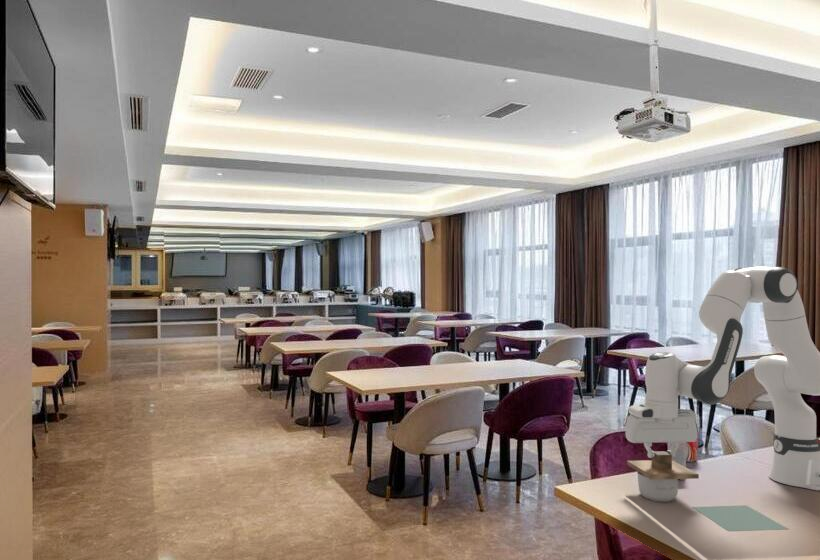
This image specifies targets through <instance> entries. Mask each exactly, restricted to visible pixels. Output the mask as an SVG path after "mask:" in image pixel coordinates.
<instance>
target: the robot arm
mask: <svg viewBox="0 0 820 560" xmlns="http://www.w3.org/2000/svg"><path fill="white" fill-rule="evenodd" d="M798 285H799V284H798V278H797V277H796V275H795V274H794V272H792V270H791V269H789V268H785V267H783V266H774V267H773V266H755V267H754V266H753V267H744V268H743V267H738V268H733V269H731V270H727V271H724V272H722V273H721V274H719V276H717V278H716V279H715V280H714V282H713V283H712V284H711V286H710V288H709V290H708V291H707V293H706V295H705V296H704V299H703V300H702V303H701V304H700V307H699V311H698V317H699V319H700V322H701V323H702V325H703V326H704V327H705V328H707V329H708V330H709V332H711V333H713V334H715V335H716V339H717V341H716V344H715V346H714V350H713V353H712V356H711V360H710V361H709V363H708V364H707V365H704V366H701V365H697V364H691V363H688V362H685V361H684V360H682V359H680V358H679V357H677V356H676V354H674V353H673V352H656V353H652V354H651V355H649V356H648V358H647V360H646V364H645V372H644V373H645V378H644V380H645V381H644V384H645V387H646V393H645V397H644V401H641V402H639V403H636V404H632V405H630V406H628V409H627V410H628V411H627V412H628V413H629V414H630V415H628V417H627V418H626V423H625V438H626V439H627V441H628V442H630V443H633V444H643V446H644V448H645V449H646V451H647V457H648V458H650V459H652V458H655V452H654V450H652V448H651V447H652V446H653V444H654V443H656V444H657V443H661V444H662V443H668V442H671V444H672V447H671V449H670V450H668V449H667V450H666V452H667V453H669V454H671V455H672V458H675V452H676V450H677V449H678V447H679V442H695V441H696V439H697V431H698V429H697V423H696V422H697V415H696V412H695V411H694V410H692V409H691V408H685V409H684V408H679V396H682V397H685V398H687V399H691V400H696V401H699V402H701V403H705V404H707V405H710V406H711V405H717V404H719V403H720V402H722V401H723V400H724V399H725V398H726V397H727V396H728V394H729V392H730V385H731V376H732V372H733V369H734V366H735V363H736V359H737V356H738V353H739V350H740V346H741V342H742V338H743V333H744V329H743V325H742V323H741V319H742V315H743V313H744V311H745V309H746V306H747V304H748V303H755V304H760V303H762V311H763V318H764V324H765V329H766V333H767V338H768V341H769V343H770V344H771V345H772V346H773V347H774V348H776V349H778V350H779V351H780V352H781V353H782V354H783V355H779V354H775V355H763V356H761V357H760V358H758V360H757V361H756V363H755V365H754V368H753V371H754V376H755V377H754V378H755V379H756V380H757V382H759V384H760V385H762V386H763V388H764V389H765V391H766V392H767V394H768V396H769V398H770V401H771V404H772V407H773V411H774V414H773V415H774V433H772V434H773V435H772V438H773V439H772V444H773V456H772V457H773V458H772V463H771V467H770V468H771V469H770V471H769V474H768V477H769V479H770V480H773V481H775V482H776V483H777V482H778V483H780V484H784V485H786V486H787V485H788V486H791V487H792V486H793V487H799V488H804V489H808V490H813V491H820V439H819V438H818V437H817V415H816V414H817V413H816V412H815V410H814V409H813V408H812V407H810V406H809V405H808V404H807V403H806V402H805V400H804V399H803V397H802V394H803V395H808V396H809V395H810V396H820V351H819V349H818V348H817V346H816V345H815V344H814V342H813V340H812V337H811V334H810V330H809V325H808V322H807V321H808V320H807V317H806V312H805V307H804V303H803V300H802V297H801V294H800V293H799V290H798V287H799V286H798Z"/></svg>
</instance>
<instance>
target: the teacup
mask: <svg viewBox="0 0 820 560" xmlns="http://www.w3.org/2000/svg"><path fill="white" fill-rule="evenodd" d="M636 473H637V483H638V491H639V493H640V495H641V496H643V497H644V498H645V499H647V500H649V501H653V502H654V501H655V502H660V503H661V502H663V503H665V502H666V503H667V502H671V501H673V500H674V499H676V498H677V496H678V491H679V482H678V481H679V480H678V479H649V478H647V477H646V476H644V475H643V474H641V473H640V472H638V471H636Z"/></svg>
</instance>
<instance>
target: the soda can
mask: <svg viewBox="0 0 820 560" xmlns="http://www.w3.org/2000/svg"><path fill="white" fill-rule="evenodd" d="M698 454H699V433H698V430H697V439H696V441H695V442H686V463H693V462H696V461H697V460H698V456H699V455H698Z"/></svg>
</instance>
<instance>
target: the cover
mask: <svg viewBox="0 0 820 560" xmlns="http://www.w3.org/2000/svg"><path fill="white" fill-rule="evenodd" d="M653 451H654V450H653ZM654 452H655V458H651V460H650V459H647V460H645V459H644V460H643V459H642V460H627V461H626V465H627V466H628V467H630V468H632V469H633V470H635V471H636V472H637V471H638V472H640V473H641V474H643V475H644V476H646V477H647V478H649V479H682V480H688V479H689V480H691V479H696V480H697V479H700V478H699V477H700V476H699V473H697V472H695V471H693V470H692V469H690V468H688V467H687V466H686V467H684V466H682V465H680V464H678V463H676V462H675V461H673V460H672V455H671V454H669V453H667V451H662V450H661V451H659V450H657V451H654Z"/></svg>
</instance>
